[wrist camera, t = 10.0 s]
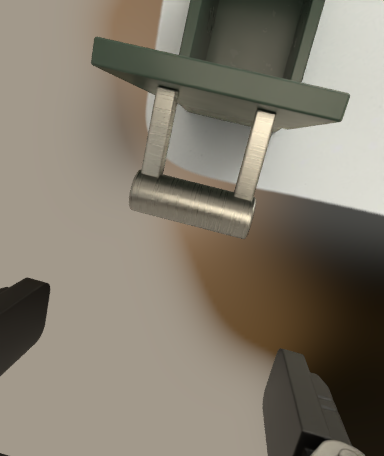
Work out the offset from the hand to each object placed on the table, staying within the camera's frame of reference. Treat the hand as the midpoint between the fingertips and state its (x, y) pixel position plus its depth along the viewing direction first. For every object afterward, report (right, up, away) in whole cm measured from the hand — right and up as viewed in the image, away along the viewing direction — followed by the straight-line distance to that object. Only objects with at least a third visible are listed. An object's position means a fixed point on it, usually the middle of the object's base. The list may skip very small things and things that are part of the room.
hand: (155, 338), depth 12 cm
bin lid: (+3, +10, +4) cm, 11 cm away
